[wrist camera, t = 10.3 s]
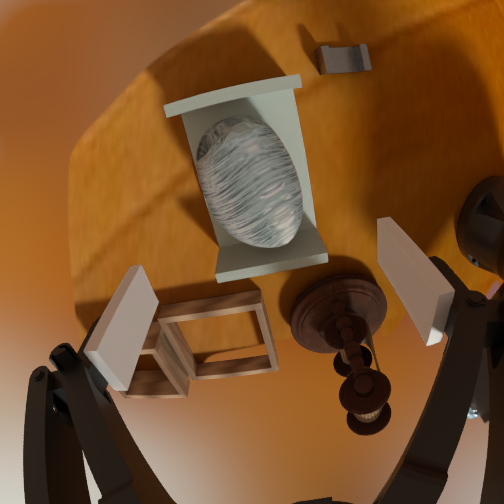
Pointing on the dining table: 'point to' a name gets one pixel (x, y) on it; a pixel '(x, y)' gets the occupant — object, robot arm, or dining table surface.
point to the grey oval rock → (250, 181)
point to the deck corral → (210, 309)
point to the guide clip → (343, 59)
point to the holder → (288, 130)
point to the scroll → (348, 343)
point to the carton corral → (159, 381)
